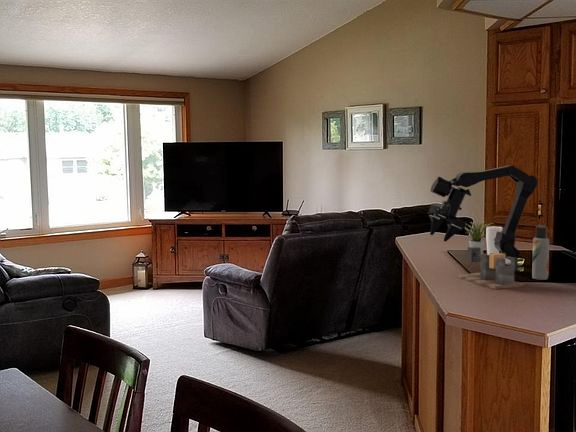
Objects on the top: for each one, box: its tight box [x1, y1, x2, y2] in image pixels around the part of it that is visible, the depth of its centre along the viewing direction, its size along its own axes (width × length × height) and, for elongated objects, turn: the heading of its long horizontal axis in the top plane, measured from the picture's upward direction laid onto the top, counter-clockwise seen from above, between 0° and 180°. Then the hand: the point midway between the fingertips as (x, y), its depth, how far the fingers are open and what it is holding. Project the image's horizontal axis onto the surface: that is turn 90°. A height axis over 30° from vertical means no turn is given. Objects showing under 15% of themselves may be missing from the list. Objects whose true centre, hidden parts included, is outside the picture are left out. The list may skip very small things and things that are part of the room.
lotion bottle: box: [531, 224, 550, 281], centre depth 244 cm, size 6×6×20 cm
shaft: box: [467, 246, 511, 265], centre depth 239 cm, size 22×4×6 cm, turn 19°
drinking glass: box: [485, 225, 503, 255], centre depth 281 cm, size 7×7×15 cm
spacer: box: [489, 253, 505, 269], centre depth 235 cm, size 2×5×5 cm, turn 109°
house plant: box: [464, 219, 493, 253], centre depth 302 cm, size 14×14×16 cm
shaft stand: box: [456, 253, 524, 290], centre depth 240 cm, size 23×12×10 cm, turn 19°
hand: (437, 238), depth 258 cm, fingers open, 9 cm apart
